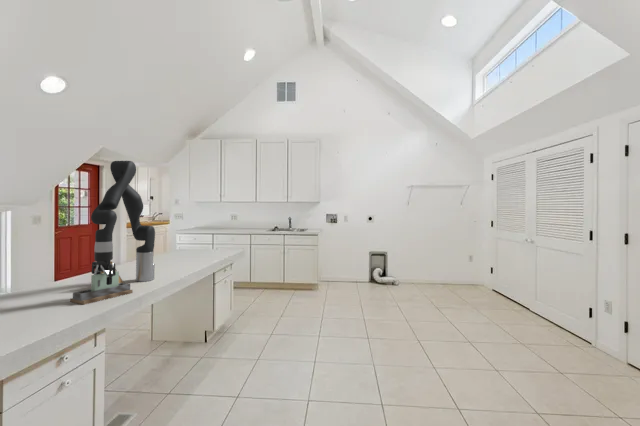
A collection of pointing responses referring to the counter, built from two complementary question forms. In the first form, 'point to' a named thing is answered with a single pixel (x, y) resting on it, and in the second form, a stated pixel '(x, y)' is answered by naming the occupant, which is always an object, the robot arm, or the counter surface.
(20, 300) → the counter surface
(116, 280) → the door panel
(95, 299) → the door track
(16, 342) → the counter surface
